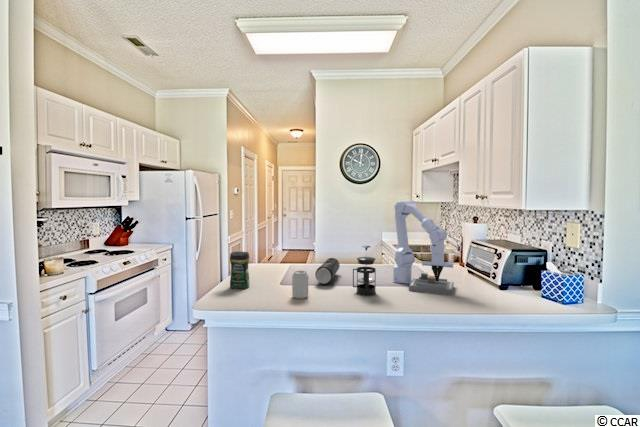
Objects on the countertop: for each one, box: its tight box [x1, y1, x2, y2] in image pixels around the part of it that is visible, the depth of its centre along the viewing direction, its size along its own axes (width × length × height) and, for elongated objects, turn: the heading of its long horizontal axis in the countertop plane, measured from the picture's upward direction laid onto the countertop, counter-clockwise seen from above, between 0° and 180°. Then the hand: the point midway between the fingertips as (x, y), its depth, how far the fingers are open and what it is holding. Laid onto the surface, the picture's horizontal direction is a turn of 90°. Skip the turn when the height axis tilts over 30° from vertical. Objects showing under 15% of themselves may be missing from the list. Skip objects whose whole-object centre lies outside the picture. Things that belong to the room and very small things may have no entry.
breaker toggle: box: [428, 275, 435, 284], centre depth 175 cm, size 3×3×4 cm
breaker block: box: [408, 271, 455, 296], centre depth 178 cm, size 20×16×7 cm
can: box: [291, 270, 309, 300], centre depth 164 cm, size 8×8×12 cm
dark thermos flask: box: [315, 257, 341, 285], centre depth 196 cm, size 10×28×10 cm, turn 169°
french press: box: [352, 245, 377, 297], centre depth 170 cm, size 12×9×23 cm
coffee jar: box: [229, 251, 251, 290], centre depth 181 cm, size 10×8×19 cm
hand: (437, 281), depth 174 cm, fingers closed
